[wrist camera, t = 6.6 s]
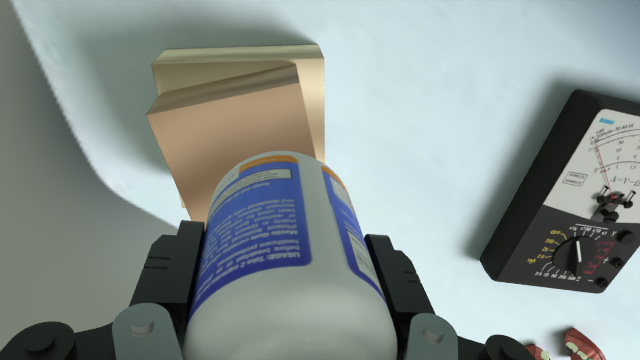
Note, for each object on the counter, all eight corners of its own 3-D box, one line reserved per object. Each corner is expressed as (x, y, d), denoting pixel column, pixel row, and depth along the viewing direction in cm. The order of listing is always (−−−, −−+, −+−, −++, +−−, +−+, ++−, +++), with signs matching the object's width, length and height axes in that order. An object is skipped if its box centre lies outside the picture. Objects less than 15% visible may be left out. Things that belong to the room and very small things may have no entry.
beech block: (165, 49, 30) (151, 64, 26) (318, 44, 30) (324, 58, 27) (191, 181, 35) (182, 208, 32) (319, 174, 36) (324, 199, 33)
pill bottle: (195, 244, 17) (126, 550, 8) (233, 126, 14) (189, 387, 6) (320, 272, 18) (366, 555, 10) (372, 169, 16) (491, 426, 8)
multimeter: (475, 258, 44) (497, 294, 40) (571, 85, 35) (613, 106, 30) (579, 272, 46) (610, 307, 42) (693, 115, 37) (748, 138, 33)
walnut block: (161, 92, 27) (145, 115, 24) (296, 63, 27) (299, 82, 24) (206, 203, 32) (198, 235, 28) (320, 179, 32) (326, 208, 28)
